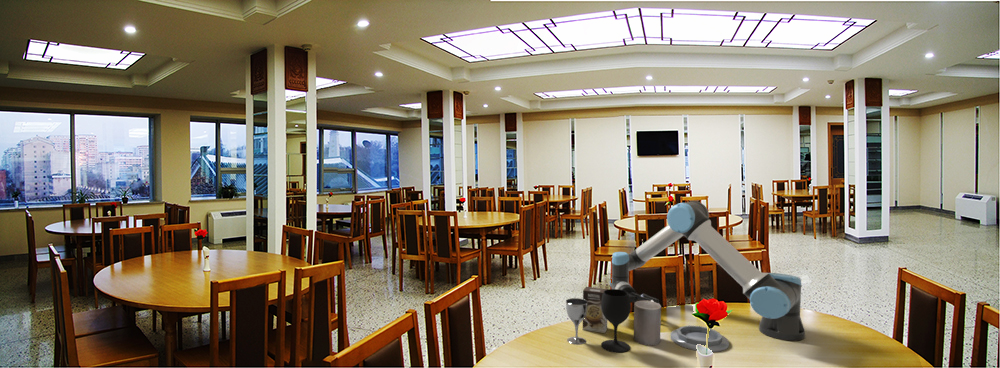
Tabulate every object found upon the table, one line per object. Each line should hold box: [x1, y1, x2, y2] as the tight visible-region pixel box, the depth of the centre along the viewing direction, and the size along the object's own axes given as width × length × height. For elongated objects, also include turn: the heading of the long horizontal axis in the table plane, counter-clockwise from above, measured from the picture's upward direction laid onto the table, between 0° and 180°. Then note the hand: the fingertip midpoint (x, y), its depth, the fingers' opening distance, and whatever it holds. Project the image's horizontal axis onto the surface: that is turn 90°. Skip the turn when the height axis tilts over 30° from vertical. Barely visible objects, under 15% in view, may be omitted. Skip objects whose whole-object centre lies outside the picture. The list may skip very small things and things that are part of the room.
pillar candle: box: [633, 300, 662, 346], centre depth 168 cm, size 10×10×15 cm
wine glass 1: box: [565, 297, 588, 346], centre depth 168 cm, size 8×8×15 cm
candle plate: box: [670, 324, 730, 353], centre depth 168 cm, size 20×20×3 cm
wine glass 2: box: [600, 288, 632, 354], centre depth 162 cm, size 10×10×20 cm
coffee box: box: [582, 286, 608, 334], centre depth 179 cm, size 9×6×16 cm
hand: (639, 308), depth 178 cm, fingers open, 13 cm apart
